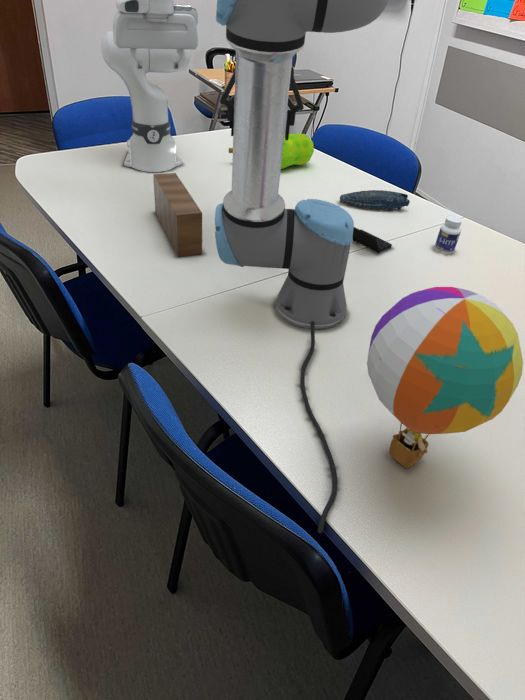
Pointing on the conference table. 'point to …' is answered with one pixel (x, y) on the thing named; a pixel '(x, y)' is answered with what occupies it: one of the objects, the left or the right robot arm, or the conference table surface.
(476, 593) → the conference table surface
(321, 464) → the conference table surface
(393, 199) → the fish model
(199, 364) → the conference table surface
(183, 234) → the box
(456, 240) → the pill bottle
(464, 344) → the toy
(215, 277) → the conference table surface
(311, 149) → the decorative tree
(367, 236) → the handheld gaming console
